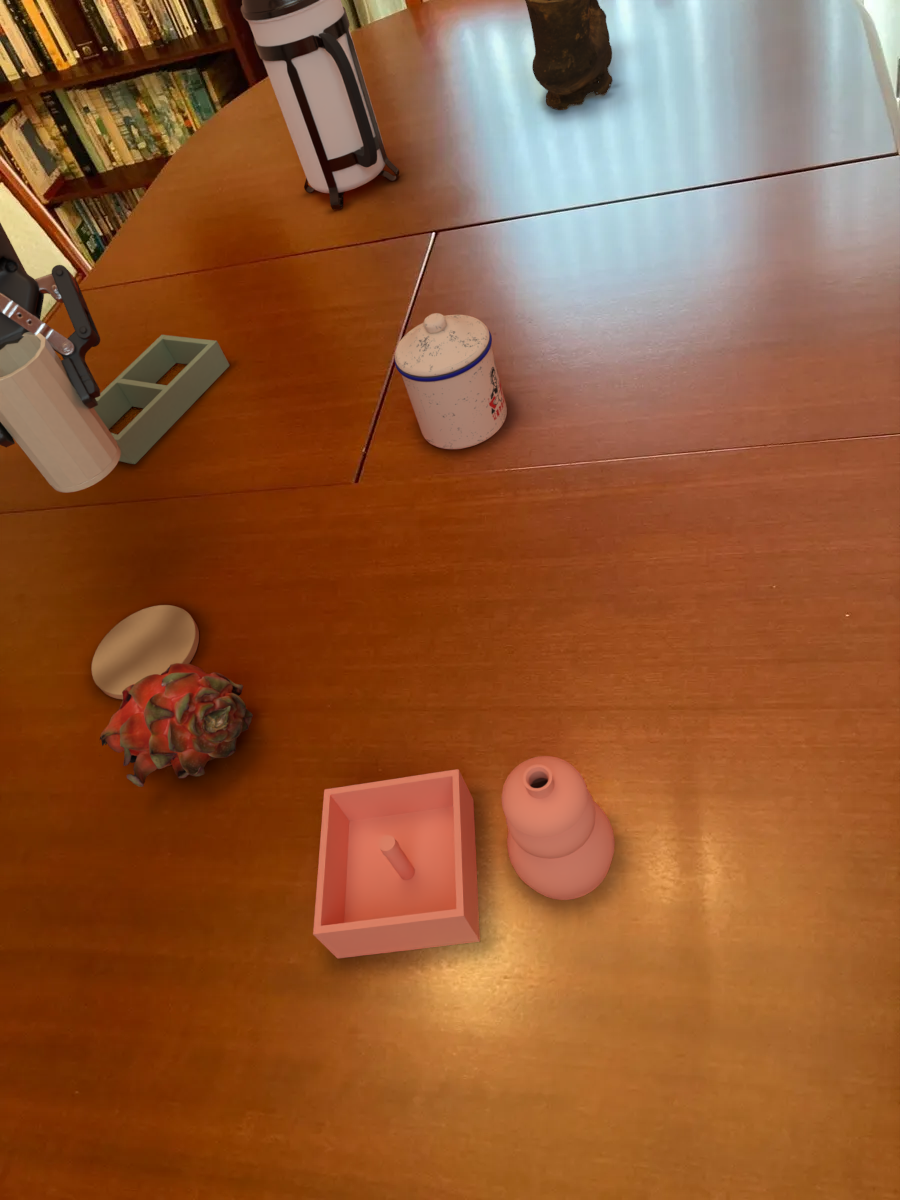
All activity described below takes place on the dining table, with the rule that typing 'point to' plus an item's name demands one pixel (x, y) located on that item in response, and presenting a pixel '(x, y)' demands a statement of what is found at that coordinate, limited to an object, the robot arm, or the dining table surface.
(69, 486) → the cup
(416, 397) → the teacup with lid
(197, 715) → the dragon fruit
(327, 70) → the coffee press
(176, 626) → the coaster
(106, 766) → the dining table surface
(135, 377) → the divided rectangular holder
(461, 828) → the pottery
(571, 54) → the pottery vessel
